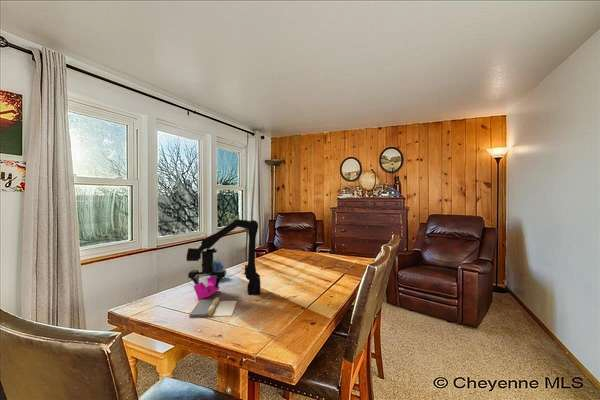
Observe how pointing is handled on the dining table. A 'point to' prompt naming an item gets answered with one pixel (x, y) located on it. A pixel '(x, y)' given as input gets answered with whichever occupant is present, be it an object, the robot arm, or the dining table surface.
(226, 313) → the leaf pad
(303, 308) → the dining table surface
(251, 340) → the dining table surface
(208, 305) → the hinge leaf
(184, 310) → the dining table surface
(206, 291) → the toy block
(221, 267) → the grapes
